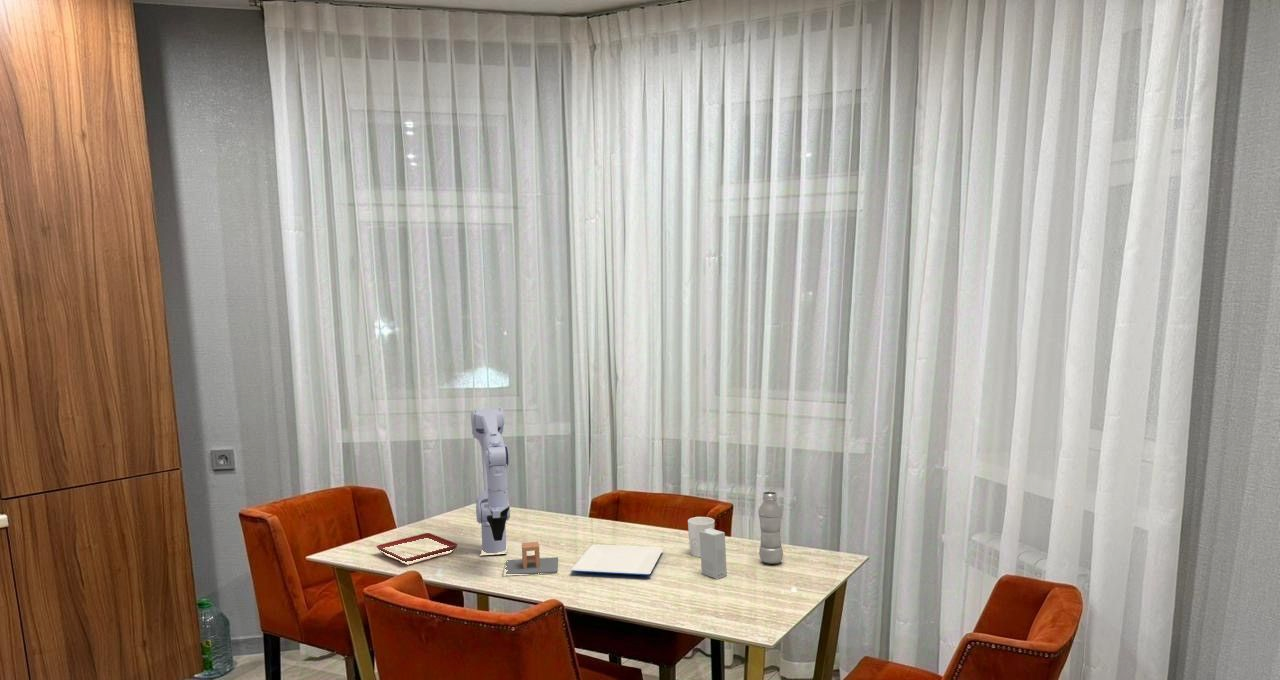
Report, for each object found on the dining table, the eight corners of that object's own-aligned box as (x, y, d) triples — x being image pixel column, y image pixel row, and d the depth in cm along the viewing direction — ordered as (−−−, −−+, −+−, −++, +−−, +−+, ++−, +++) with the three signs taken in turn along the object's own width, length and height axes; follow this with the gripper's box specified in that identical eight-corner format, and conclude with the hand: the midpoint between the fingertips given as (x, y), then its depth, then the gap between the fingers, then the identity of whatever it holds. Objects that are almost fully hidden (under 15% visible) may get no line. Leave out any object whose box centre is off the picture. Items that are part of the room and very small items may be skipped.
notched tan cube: (522, 563, 215) (521, 543, 215) (538, 562, 216) (537, 541, 216) (523, 569, 211) (522, 548, 211) (539, 567, 212) (539, 546, 212)
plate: (649, 580, 202) (649, 573, 202) (570, 576, 206) (570, 569, 206) (664, 553, 224) (663, 546, 224) (591, 550, 228) (591, 543, 228)
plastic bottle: (783, 567, 209) (781, 496, 208) (758, 566, 211) (757, 495, 210) (783, 559, 216) (782, 490, 215) (759, 558, 217) (758, 490, 216)
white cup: (693, 559, 217) (693, 525, 217) (685, 551, 225) (684, 518, 225) (719, 556, 220) (718, 522, 219) (709, 548, 227) (708, 515, 227)
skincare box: (727, 576, 203) (726, 531, 203) (715, 580, 201) (714, 535, 200) (711, 570, 208) (710, 527, 208) (699, 574, 205) (698, 530, 205)
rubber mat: (506, 562, 219) (506, 560, 219) (558, 559, 220) (558, 557, 220) (502, 576, 207) (502, 574, 207) (557, 573, 208) (557, 571, 208)
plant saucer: (459, 554, 229) (459, 543, 228) (405, 569, 216) (404, 558, 215) (428, 542, 241) (428, 532, 241) (375, 556, 228) (375, 545, 228)
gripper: (485, 483, 219) (487, 529, 220) (480, 495, 205) (482, 544, 205) (510, 482, 220) (511, 528, 221) (506, 494, 206) (508, 543, 206)
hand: (499, 536), depth 213 cm, fingers open, 7 cm apart
